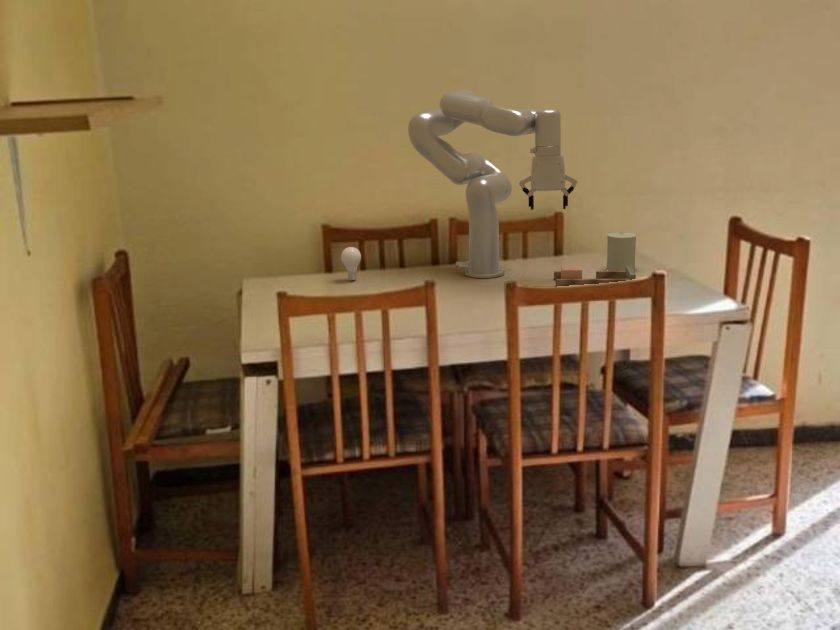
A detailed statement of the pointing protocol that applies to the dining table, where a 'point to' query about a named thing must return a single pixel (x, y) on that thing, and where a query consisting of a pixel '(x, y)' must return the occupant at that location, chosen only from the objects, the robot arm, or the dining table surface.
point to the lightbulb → (351, 261)
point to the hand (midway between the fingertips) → (548, 208)
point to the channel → (597, 277)
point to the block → (571, 272)
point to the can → (620, 251)
